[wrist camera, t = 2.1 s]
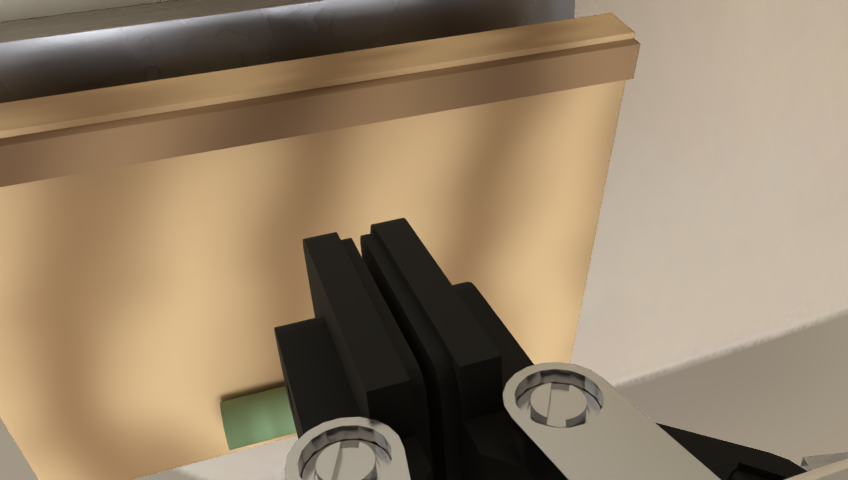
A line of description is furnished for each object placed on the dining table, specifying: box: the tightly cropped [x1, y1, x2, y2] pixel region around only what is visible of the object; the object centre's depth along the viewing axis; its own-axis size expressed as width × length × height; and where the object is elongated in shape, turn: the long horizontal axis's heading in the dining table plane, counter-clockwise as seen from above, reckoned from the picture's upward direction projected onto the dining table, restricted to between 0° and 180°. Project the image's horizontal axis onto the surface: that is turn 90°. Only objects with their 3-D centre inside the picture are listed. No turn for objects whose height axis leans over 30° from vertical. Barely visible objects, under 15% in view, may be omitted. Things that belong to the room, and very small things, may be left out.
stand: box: [0, 0, 575, 103], centre depth 30 cm, size 24×17×3 cm
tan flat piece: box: [0, 13, 640, 480], centre depth 26 cm, size 22×16×4 cm
